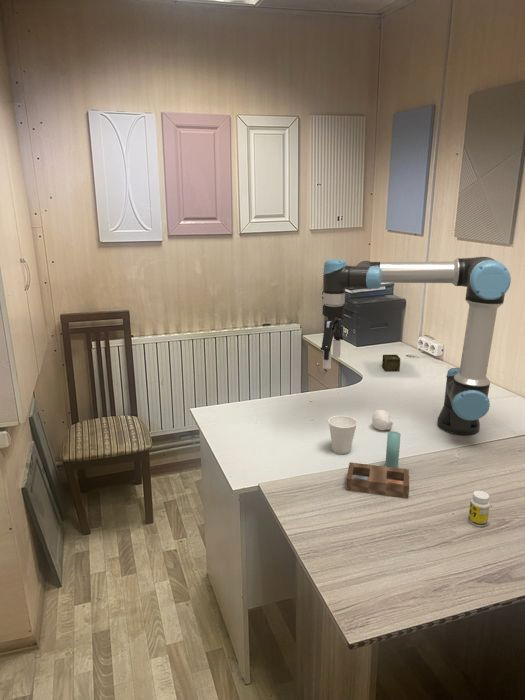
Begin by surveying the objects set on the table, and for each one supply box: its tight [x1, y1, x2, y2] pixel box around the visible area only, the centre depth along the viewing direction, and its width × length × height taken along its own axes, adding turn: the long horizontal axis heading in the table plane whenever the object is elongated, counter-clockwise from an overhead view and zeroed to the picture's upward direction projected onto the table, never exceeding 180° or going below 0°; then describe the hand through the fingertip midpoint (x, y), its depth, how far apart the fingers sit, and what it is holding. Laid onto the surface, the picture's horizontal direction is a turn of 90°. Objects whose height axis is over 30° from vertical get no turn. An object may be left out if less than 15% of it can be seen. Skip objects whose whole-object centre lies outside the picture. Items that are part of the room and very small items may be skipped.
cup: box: [327, 415, 358, 455], centre depth 177 cm, size 10×10×11 cm
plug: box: [384, 430, 402, 468], centre depth 165 cm, size 4×4×12 cm
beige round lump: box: [371, 409, 394, 431], centre depth 194 cm, size 8×8×8 cm
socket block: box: [345, 461, 410, 499], centre depth 156 cm, size 18×10×4 cm, turn 76°
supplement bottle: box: [468, 490, 491, 527], centre depth 138 cm, size 5×5×8 cm
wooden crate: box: [381, 354, 401, 373], centre depth 262 cm, size 7×7×7 cm
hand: (331, 362), depth 186 cm, fingers open, 13 cm apart
